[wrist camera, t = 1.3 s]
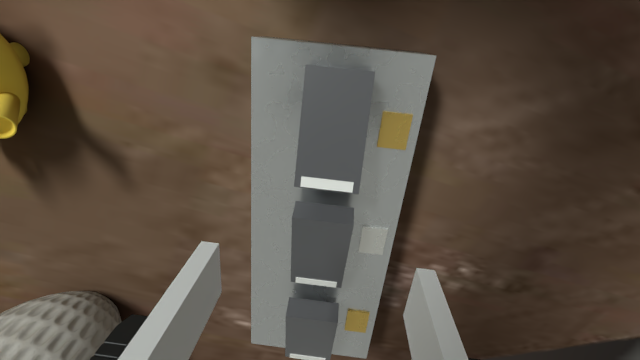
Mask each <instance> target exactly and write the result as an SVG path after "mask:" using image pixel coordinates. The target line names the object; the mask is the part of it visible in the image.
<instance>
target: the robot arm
mask: <svg viewBox="0 0 640 360" xmlns="http://www.w3.org/2000/svg"><path fill="white" fill-rule="evenodd" d="M221 292H222V290H221V271H220V252H219V243H211V242H203V241H201V243H200V244H199V246H198V247H197V248H196V250H195V251H194V253H193V254H192V255H191V257H190V258H189V260H188V261H187V262H186V264H185V265H184V267H183V268H182V270H181V271H180V272H179V274H178V275H177V277H176V278H175V279H174V281H173V282H172V284H171V285H170V286H169V288H168V289H167V291H166V292H165V293H164V295H163V296H162V298H161V299H160V301H159V302H158V303H157V305H156V306H155V308H154V309H153V310H152V312H151V313H150V315H149V316H141V315H133V314H132V315H131V316H129V317H128V318H126V319H125V320H124V321H122V322H121V323H120V324H118V325H117V326H116V327H115V328H114V330H113V331H112V332H111V333H110V335H109V336H108V337H107V338H106V340H105V342H104V344H102V345H101V346H100V347H99V348H98V350H97V351H96V352H95V355H94V356H92V357H91V358H90V360H189V358H190V356H191V353H192V351H193V349H194V347H195V345H196V343H197V341H198V339H199V337H200V335H201V333H202V331H203V329H204V327H205V325H206V323H207V321H208V319H209V317H210V315H211V313H212V311H213V309H214V307H215V305H216V302H217V300H218V298H219V296H220V294H221ZM403 317H404V322H405V327H406V332H407V337H408V342H409V347H410V352H411V357H412V360H478V359H471V358H468V357H467V355H466V352H465V349H464V347H463V344H462V341H461V339H460V336H459V333H458V331H457V328H456V325H455V323H454V320H453V317H452V315H451V312H450V309H449V307H448V304H447V301H446V299H445V296H444V293H443V291H442V288H441V285H440V283H439V280H438V277H437V275H436V272H435V270H428V269H420V268H416V272H415V275H414V279H413V282H412V286H411V289H410V293H409V296H408V300H407V304H406V307H405V311H404V314H403Z"/></svg>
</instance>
